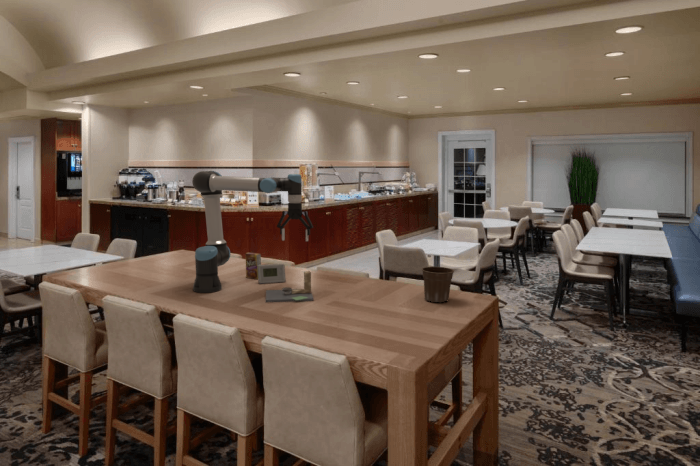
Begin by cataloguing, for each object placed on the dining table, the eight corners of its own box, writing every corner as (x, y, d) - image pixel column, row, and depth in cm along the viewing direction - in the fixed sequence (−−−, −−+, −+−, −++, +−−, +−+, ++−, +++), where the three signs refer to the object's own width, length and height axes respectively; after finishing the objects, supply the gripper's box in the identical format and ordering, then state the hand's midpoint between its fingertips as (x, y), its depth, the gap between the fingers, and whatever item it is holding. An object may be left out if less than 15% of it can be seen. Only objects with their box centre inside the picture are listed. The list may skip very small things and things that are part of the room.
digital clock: (257, 284, 285) (257, 266, 284) (258, 280, 294) (257, 263, 292) (285, 283, 287) (285, 265, 286) (285, 280, 296) (285, 262, 295)
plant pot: (448, 296, 262) (450, 266, 260) (456, 304, 246) (457, 272, 244) (418, 296, 262) (419, 266, 260) (424, 304, 246) (424, 272, 244)
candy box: (245, 277, 302) (245, 253, 299) (250, 276, 305) (249, 252, 303) (256, 279, 297) (256, 254, 295) (261, 278, 301) (261, 253, 299)
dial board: (265, 303, 245) (265, 297, 245) (266, 292, 267) (266, 286, 267) (314, 302, 249) (314, 296, 248) (310, 290, 271) (310, 285, 270)
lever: (283, 295, 256) (283, 274, 254) (281, 292, 260) (281, 272, 259) (311, 292, 261) (311, 272, 259) (309, 290, 265) (309, 270, 264)
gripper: (270, 202, 270) (271, 240, 273) (315, 203, 266) (315, 242, 268) (275, 201, 277) (275, 238, 280) (318, 202, 273) (318, 240, 276)
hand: (295, 240), depth 274 cm, fingers open, 13 cm apart
